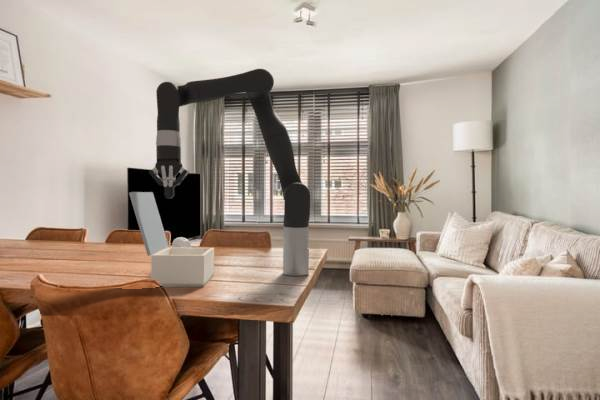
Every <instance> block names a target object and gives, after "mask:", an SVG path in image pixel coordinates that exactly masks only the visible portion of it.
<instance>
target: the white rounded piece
mask: <svg viewBox="0 0 600 400" xmlns="http://www.w3.org/2000/svg"><path fill="white" fill-rule="evenodd" d="M171 245H172V247H171V248H192V244H191V242H190V241H189V239H187V238H186V237H183V236H180V237H176V238H174V239H173V241H172V244H171Z"/></svg>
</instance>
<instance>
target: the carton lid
mask: <svg viewBox="0 0 600 400" xmlns="http://www.w3.org/2000/svg"><path fill="white" fill-rule="evenodd" d="M128 194H129V197H130V200H131V205H132V207H133V212H134V214H135V217H136V221H137V224H138V228H139V231H140V234H141V238H142V241H143V244H144V248H145V251H146V255H147V256H151V255H153V254H155V253H158V252H160V251H162V250H164V249H166V248H170V246H169V242H168V239H167V236H166V232H165V229H164V226H163V223H162V219H161V215H160V212H159V209H158V205H157V202H156V198H155V195H154V192H153V191H148V192H147V191H144V192H143V191H131V192H128Z"/></svg>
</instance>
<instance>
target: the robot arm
mask: <svg viewBox="0 0 600 400" xmlns="http://www.w3.org/2000/svg"><path fill="white" fill-rule="evenodd" d="M274 80H275V79H274V77H273V75H272V74H271V72H270V71H268V70H267V69H265V68H255V69H252V70H248V71H246V72H243V73H242V72H241V73H237V74H233V75H229V76H225V77H224V76H223V77H218V78H211V79H210V78H209V79H201V80H192V81H188V82H186V83H185V84H183V85H176V84H175V83H173V82H171V81H164V82H161V83H160V84H158V86H157V88H156V93H155V94H156V107H157V109H156V110H157V117H156V136H155V137H156V140H155V145H156V162H155V165H154V167H153V168H152V169H149V170H148V174H150V176H151V177H152V178H153V180H154V181H155V183H157V185H158V186H162V187H163V188H164V189H163V190H164V192H163V193H164V194H163V196H164V198H165V199H173V198H174V197H175V188H176V186H180V185H181V183H182V182H183V181H184V179H185V178H186V177H187V176H188V175H189V173H190V171H189V170H188V169H186V168H184V166H183V163H182V154H181V153H182V148H181V147H182V146H181V145H182V141H181V133H180V132H181V131H180V128H181V127H180V126H181V125H180V123H181V121H180V107H183V106H187V105H191V104H197V103H205V102H206V103H207V102H211V101H217V100H219V99H223V98H226V97H229V96H232V95H237V94H243V93H245V94H246V96H247V98H248V101H249V103H250V105H251V107H252V109H253V112H254V114H255V116H256V120H257V123H258V127H259V129H260V132H261V135H262V136H261V137H262V139H263V142H264V144H265V147H266V148H265V149H266V151H267V154H268V155H269V158H270V160H271V163H272V165H273V167H274V169H275V171H276V173H277V176H278V179H279V180H278V181H279V183H280V188H281V191H282V198H283V201H284V206H283V207H284V213H283V215H284V216H283V228H282V229H283V237H282V239H283V240H282V242H283V244H282V246H283V248H282V251H283V252H282V273H283V275H285V276H290V277H301V276H302V277H303V276H309V274H310V273H309V272H310V271H309V269H310V268H309V266H310V264H309V263H310V260H309V259H310V248H309V230H310V229H309V227H310V226H309V225H310V218H311V193H310V192H311V191H310V189H309V188H308V187H307V186H306V185H305V184H304V183H303V182H302V180H301V178H300V175H299V173H298V170H297V165H296V162H295V154H294V149H293V145H292V140H291V138H290V135H289V132H288V130H287V127H286V126H285V123H284V122H283V121H282V120H281V118H280V117H279V115H278V114H277V113H276V111H275V109H274V107H273V102H272V99H271V96H270V92H271V90H273V88H274V84H275V81H274ZM179 173H180V174H179ZM159 174H160V175H161V177H160V175H159ZM178 174H179V176H178V177H176V176H177V175H178Z"/></svg>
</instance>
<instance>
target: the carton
mask: <svg viewBox="0 0 600 400" xmlns="http://www.w3.org/2000/svg"><path fill="white" fill-rule="evenodd" d="M150 256H151V265H150V266H151V268H150V273H151V274H150V275H151V277H150V278H151V279H154V280H156V281H158V282H159V283H160V284H161V285H162V286H163V287H162V288H204V287H206V285H207V284H208V283H209V282H210V281H211V280H212V278H213V277H214V276H215V247H191V248H172V247H167V248H165V249H163V250H161V251H158V252H156V253H154V254H152V255H150ZM151 279H150V280H151Z"/></svg>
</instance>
